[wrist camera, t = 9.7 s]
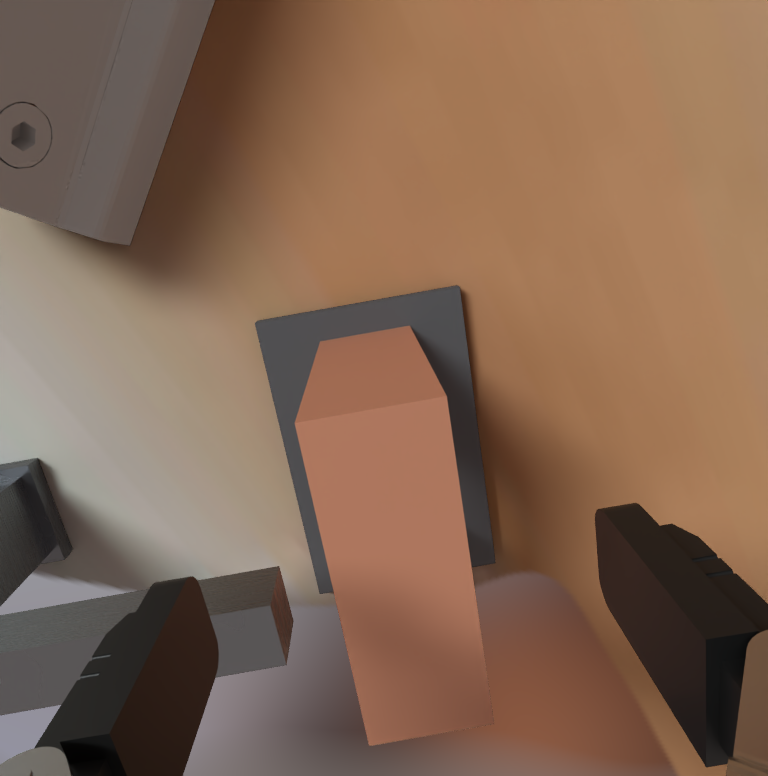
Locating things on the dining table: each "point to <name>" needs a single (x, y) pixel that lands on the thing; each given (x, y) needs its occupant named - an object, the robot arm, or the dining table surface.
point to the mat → (448, 360)
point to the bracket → (107, 605)
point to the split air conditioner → (90, 106)
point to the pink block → (394, 534)
